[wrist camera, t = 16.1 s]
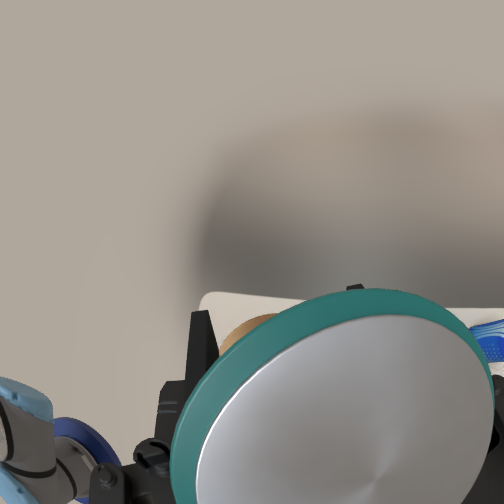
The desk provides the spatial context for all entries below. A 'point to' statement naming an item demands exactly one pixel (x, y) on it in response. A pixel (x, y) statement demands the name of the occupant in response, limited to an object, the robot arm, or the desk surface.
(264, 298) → the desk surface
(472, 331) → the beer can
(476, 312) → the desk surface
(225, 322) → the desk surface
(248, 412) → the can
